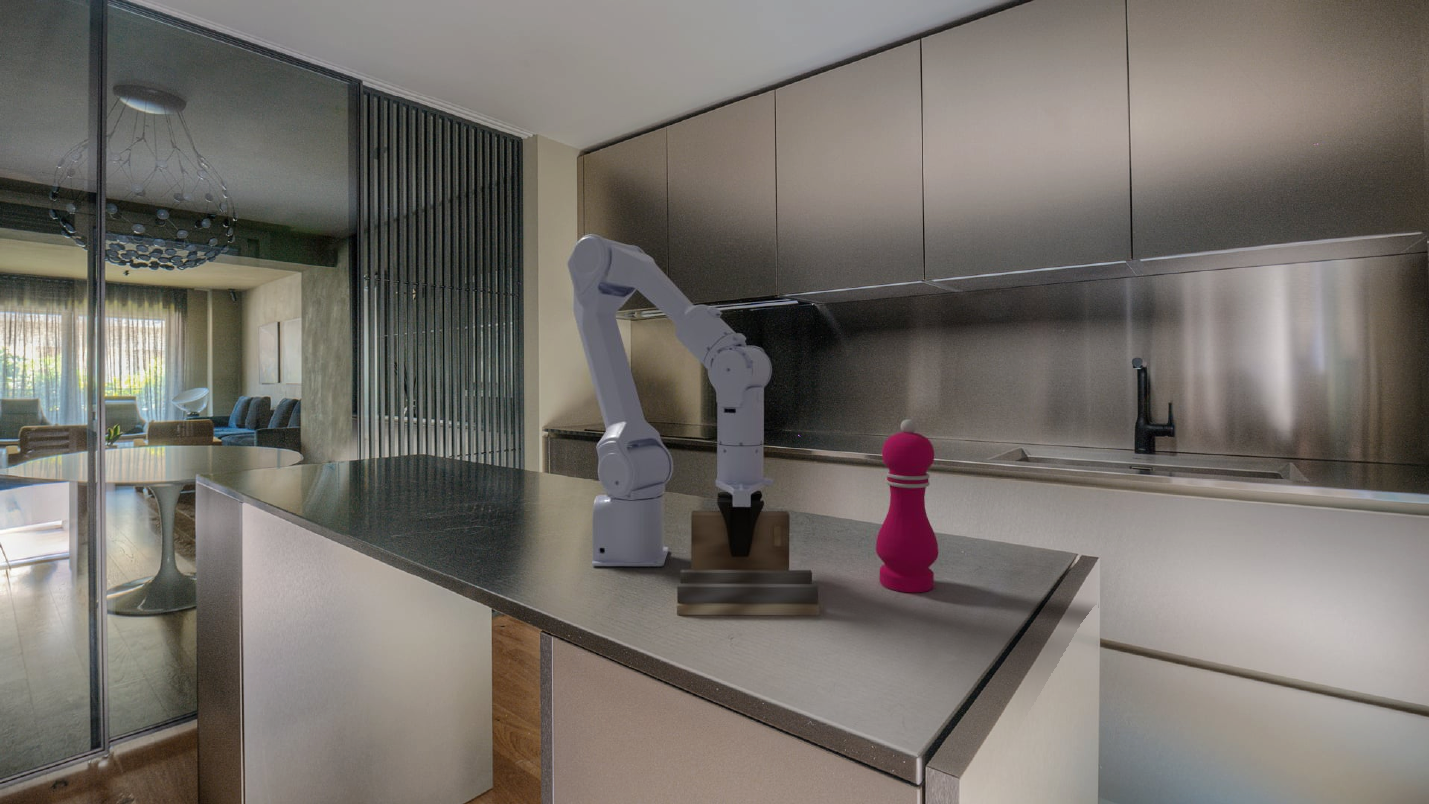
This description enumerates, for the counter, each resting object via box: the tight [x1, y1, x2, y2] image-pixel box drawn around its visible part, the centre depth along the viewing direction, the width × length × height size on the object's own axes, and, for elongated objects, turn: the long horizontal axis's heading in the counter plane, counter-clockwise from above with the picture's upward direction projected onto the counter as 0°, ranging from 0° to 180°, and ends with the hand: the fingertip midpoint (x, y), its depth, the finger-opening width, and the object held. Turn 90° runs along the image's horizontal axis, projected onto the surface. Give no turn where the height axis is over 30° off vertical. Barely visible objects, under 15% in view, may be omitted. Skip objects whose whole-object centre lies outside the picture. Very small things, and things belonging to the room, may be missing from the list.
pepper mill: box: [875, 418, 939, 594], centre depth 76 cm, size 7×7×20 cm
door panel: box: [690, 510, 791, 570], centre depth 78 cm, size 12×3×7 cm, turn 89°
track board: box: [676, 569, 820, 616], centre depth 70 cm, size 15×7×3 cm, turn 89°
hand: (739, 552), depth 79 cm, fingers closed on door panel, 2 cm apart
